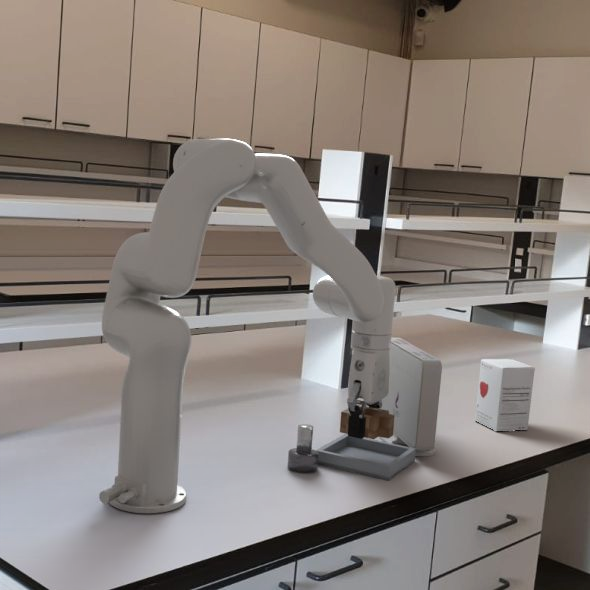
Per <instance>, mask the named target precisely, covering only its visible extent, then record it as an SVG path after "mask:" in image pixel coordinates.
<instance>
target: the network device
mask: <svg viewBox="0 0 590 590" xmlns="http://www.w3.org/2000/svg"><path fill="white" fill-rule="evenodd" d="M389 358H390V370H389V392H388V395H387V396H386V397H385V398H383V399H382V407H381V409H383V410H388V411H389V414H392V415H395V417H394V430H393V436H392V437H390V438H384V437H378V438H379V440H380V441H382V442H387V443H391V444H396V445H407V447H410V448H415V449H416V452H415V457H429V456H434V455H436V449H435V443H436V435H437V422H438V412H439V404H440V403H439V401H440V395H441V393H440V392H441V391H440V390H441V383H442V370H443V366H442V362H441V360H440V359H439V358H437V357H435V356H433V355H431V354H429V353H428V352H426V351H424V350H423V349H421V348H419V347H417V346H415V345H413V344H412V343H410V342H408V340H407V341H406V340H405V339H403V338H401V337H391V347H390V351H389ZM379 409H380V408H379Z"/></svg>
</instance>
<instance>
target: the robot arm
mask: <svg viewBox="0 0 590 590" xmlns="http://www.w3.org/2000/svg"><path fill="white" fill-rule="evenodd" d="M172 160H173V161H172V168H173V173H172V174H171V175H170V176H169V177H168V179H167V181H166V182H165V184H164V185H163V187H162V189H161V191H160V194H159V195H158V198H157V202H156V205H155V210H154V213H153V216H152V219H151V224H150V226H149V227H150V228H149V231H148V232H147V231H146V232H138V233H135V234H133V235H132V236H129V237H128V238H127V239H126V240H125V241H124V242H123V243H122V244H121V245H120V247H119V248H118V250H117V252H116V254H115V258H114V259H113V263H112V267H111V272H110V278H109V282H108V287H107V291H106V295H105V300H104V306H103V311H102V316H101V317H102V318H101V331H102V336H103V338H104V340H105V342H106V343H107V344H108V346H109V347H110V348H112V349H113V350H115V351H116V352H118V353H119V354H123V355H124V356H126V357H128V358H129V362H128V365H127V369H126V371H125V374H124V378H123V381H122V388H121V396H120V397H121V400H120V421H119V442H118V443H119V445H118V462H117V463H118V464H117V465H118V466H117V475H116V476H114V484H112V486H111V487H109V488H107V489H104V490H102V491H100V492H99V494H98V495H99V497H98V498H99V501H100V502H101V503H102V504H110V506H112V507H114V508H115V509H118V510H121V511H123V512H129V513H134V514H161V513H167V512H170V511H174V510H176V509H178V508H180V507H182V506H184V505H185V503H186V502H187V490H186V489H185V488H183V487H182V486H180V485H178V483H179V482H178V480H179V479H178V478H179V464H180V462H179V461H180V449H181V448H180V446H181V445H180V444H181V443H180V442H181V428H182V427H181V426H182V414H183V412H182V411H183V410H182V409H183V395H184V394H183V391H184V381H185V374H186V369H187V365H188V360H189V356H190V352H191V347H192V333H191V332H192V331H191V329H190V325H189V324H188V322H187V321H186V319H185V318H184V317H183V316H182V314H180V312H178V311H176V310H174V309H173V308H171V307H168V306H167V305H162V304H160V301H161V297H164V298H169V299H170V298H171V299H175V298H180V297H183V296H184V295H186V294H187V293H189V292H190V291H191V289H192V287H193V286H194V285H195V281H196V278H197V275H198V271H199V265H200V261H201V256H202V255H201V254H202V251H203V248H204V247H203V246H204V242H205V236H206V233H207V228H208V226H209V222H210V219H211V216H212V214H213V211H214V210H215V208H216V207H217V205H218V204H219V203H220V202H221V201H222V200H223V199H225V198H227V199H232V200H238V201H243V202H250V203H257V204H258V203H259V204H262V205H263V206H264V208H265V209H266V211H267V213H268V215H269V216H270V217H271V219H272V221H273V223H274V225H275V226H276V228H277V229H278V231H279V233H280V235H281V237H282V239H283V241H284V242H285V244H286V246H287V247H288V248H289V249H290V250H291V251H292V252H293V253H295V254H296V255H297V256H299V257H300V258H301V259H303V260H305V261H306V262H309V263H310V264H312V265H314V266H315V267H316V268H318V269H320V270H321V271H323V272H324V273H325V274H326V275H325V276H323V277H321V278H320V279H319V280H318V281H316V283H315V285H314V287H313V289H312V299H313V302H314V304H315V306H316V307H317V308H318V309H319V310H320V311H322V312H323V313H325V314H328V315H331V316H336V317H339V318H343V319H349V320H352V323H351V324H352V326H351V337H350V349H352V354H351V359H350V366H349V373H348V375H349V376H348V381H347V382H348V385H347V400H346V403H347V406H348V407H347V409H349V413H348V415H349V423H348V436H350V437H355V438H360V439H363V438H365V437H364V435H365V422H366V418H364V414H365V410H366V407H372V408H378V409H379V408H380V409H381V407H382V399H383V398H385V397H386V396H387V395H388V392H389V370H390V358H389V351H390V347H391V338H392V334H393V323H394V321H393V320H394V310H395V295H396V283H395V281H394V280H393V279H392V278H391V277H387V276H383V275H377V274H376V273H375V271H374V269H373V267H372V265H371V263H370V262H369V260H368V259H367V258H366V256H365V255H364V254H363V252H361V251H360V250H359V249H358V248H357V246H355V245H354V243H352V242H351V241H350V240H349V239H348V238H347V237H346V236H345V235H344V234H343V233H342V232H341V231H340V230H339V229H338V228H336V227H335V226H334V225H333V223H331V221H330V219H329V218H328V216H327V214H326V212H325V210H324V208H323V207H322V204H321V203H320V201H319V198H318V197H317V196H316V193H315V192H314V190H313V188H312V186H311V184H310V182H309V180H308V178H307V176H306V175H305V173H304V172H303V170H302V168H301V166H300V164H299V163H298V162H297V161H296V160H295V159H294V158H293V157H290V156H288V155H284V154H279V153H277V154H276V153H255V152H254V150H253V148H252V147H251V146H250V145H249V144H247V142H244V141H241V140H237V139H232V138H194V139H190V140H187V141H185V142H183V144H181V145H180V146H179V147H178V148H177V150H176V152H175V153H174V156H173V159H172ZM360 399H363V400H360ZM357 405H362V406H361V410H360V408H359V406H357Z"/></svg>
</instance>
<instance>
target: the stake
mask: <svg viewBox="0 0 590 590" xmlns="http://www.w3.org/2000/svg"><path fill="white" fill-rule="evenodd" d="M296 435H297V436H296V437H297V438H296V447H294V448H290V449H289V450H288V457H287V469H288V470H289V471H290V472H293V473H297V474H312V473H317V471H318V470H319V468H318V467H319V464H318V459H319V453H318V452H317V451H315V450H316V449H312V448H313V437H314V436H313V435H314V425H312V424H308V423H301V424H298V425H297V434H296Z"/></svg>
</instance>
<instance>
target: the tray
mask: <svg viewBox="0 0 590 590" xmlns="http://www.w3.org/2000/svg"><path fill="white" fill-rule="evenodd" d="M314 450H315V451H317V452H318V453H319V459H318V465H321V466H325V467H329V468H333V469H338V470H342V471H345V472H346V471H347V472H350V473H355V474H359V475H363V476H366V477H371V478H376V479H381V480H385V481H391V480H392V479H393V478H395V477H396V476H397V475H398V474H400V473H401V472H402V471H405V469H407V468H408V467H409V466H410V465H412V464H413V463H414V462H415V461H416V456H415V452H416V451H417V450H416V449H415V448H410V447H409V446H404V445H402V444H391V443H387V442H383V441H382V440H377V439H370V438H365V437H364V438H363V439H360V438H355V437H350V436H348V434H346V433H343V434H342V435H341V436H339V437H337V438H336V439H334V440H331V441H330V442H327V444H324V445H322V446H320V447H319V448H317V449H314Z"/></svg>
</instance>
